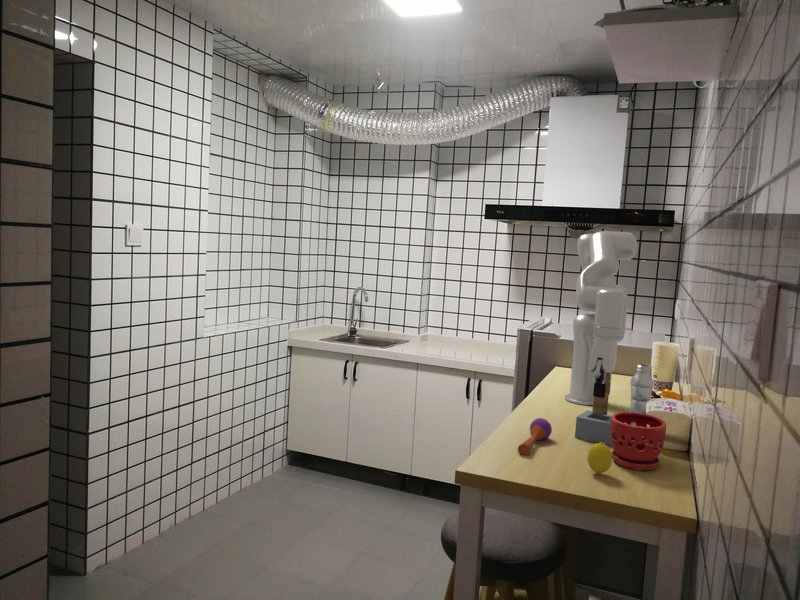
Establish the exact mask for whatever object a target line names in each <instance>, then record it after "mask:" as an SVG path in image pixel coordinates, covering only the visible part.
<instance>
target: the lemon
mask: <svg viewBox="0 0 800 600" xmlns="http://www.w3.org/2000/svg"><path fill="white" fill-rule="evenodd" d="M611 452H612V450H611V449H610V447H609V445H606V444H603V443H602V442H599V443H597V442H595V443H594V444H593V445H591V446H590V448H589V450H588V452H587V463H588V464H587V465H588V466H589V468H590V469H591V470H592V471H593V472H595V474H596V475H598V474H599V475H601V474H603V473H605V472H607V471H609V469H610V468H611V466H612V461H613V458H612V455H611Z"/></svg>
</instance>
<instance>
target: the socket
mask: <svg viewBox="0 0 800 600" xmlns="http://www.w3.org/2000/svg"><path fill="white" fill-rule="evenodd" d="M592 411H593V410H589V409H586V410H585V411H584V412H582V413H581V414H579V415H577V416H576V419H575V431H574V438H576V437H577V438H576V439H580V438H581V440H584V439H586V440H585V441H590V442H593V441H594V443H597V442H602V443H604V444H605V445H606V444H607V445H606V446H612V443H611V434H610V424H611V416H612V415H613V414H608V413H607V415H598V414H594V413H593V412H592Z"/></svg>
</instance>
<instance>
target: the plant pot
mask: <svg viewBox="0 0 800 600" xmlns="http://www.w3.org/2000/svg"><path fill="white" fill-rule="evenodd" d="M611 415H612V416H611V424H610V434H611V443H612V444H611V446H612V448H613V450H611V455H612V461H614V462H615V463H616V464H618V465H621V466H622V467H624V468H627V469H632V470H637V471H651V470H653V469H656V468H657V467H658V466H659V465H660V462H661V461H660V459H659V456H660V454H661V452H662V450H663V448H664V445H665V439H666V432H667V423H666V422H665V421H664V420H663V419H662V418H659V417H657V416H654V415H650V414H649V415H647V414H642V413H634V412H629V411H627V412H626V411H622V412H621V411H620V412H617V413H614V414H611ZM632 422H635V423H636V426H633V425H631V423H632ZM647 424H648V425H649V427H647ZM640 426H642V427H640Z"/></svg>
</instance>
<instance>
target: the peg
mask: <svg viewBox="0 0 800 600" xmlns="http://www.w3.org/2000/svg"><path fill="white" fill-rule="evenodd" d="M611 372H612V371H611ZM611 372H609V373H607V374H606V380H605V384H606V391H605V398H600V397H594V400H593V405H592V410H591V411H592V412H593V413H594V414H598V415H607V414H608V405H609V396H610V394H609V387H610V388H611V385H610V382H611V381H610V376H611V377H612V373H611ZM601 373H604V372H603V371H602V370H601ZM601 376H602V377H603V375H601Z"/></svg>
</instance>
